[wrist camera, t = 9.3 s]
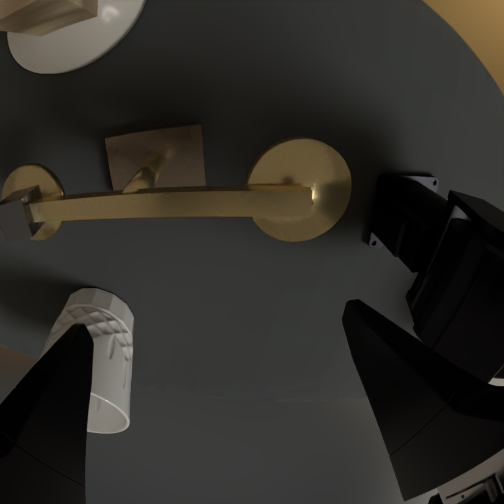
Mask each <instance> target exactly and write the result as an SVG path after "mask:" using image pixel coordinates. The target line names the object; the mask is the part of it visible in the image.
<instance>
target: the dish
mask: <svg viewBox="0 0 504 504" xmlns="http://www.w3.org/2000/svg"><path fill="white" fill-rule="evenodd" d="M146 1H147V0H98V12H97V17H94V18H91V19H88V20H85V21H81V22H78V23H76V24H73V25H70V26H67V27H64V28H62V29H59V30H57V31H54V32H52V33H49V34H47V35H44V36H42V37H40V36H34V35H28V34H21V33H14V32H7V38H8V45H9V48H10V51H11V53H12V55H13V57H14V59H15V60H16V61H17V63H19V64H20V65H21V66H22V67H24V68H25V69H27V70H29V71H32V72H35V73H41V74H59V73H67V72H71V71H75V70H77V69H80V68H83V67H85V66H87V65H89V64H91V63H93V62H95V61H96V60H98V59H100V58H101V57H103V56H104V55H105V54H107V53H108V52H110V51H111V50H112V49H113V48H114V47H115V46H116V45H118V44H119V43H120V42H121V41H122V39H123V38H124V37H125V36H126V35H127V34H128V33H129V31H130V30H131V29H132V28H133V26H134V25H135V23H136V22H137V20H138V19H139V17H140V15H141V13H142V11H143V9H144V6H145V4H146Z"/></svg>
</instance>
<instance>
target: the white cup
mask: <svg viewBox="0 0 504 504" xmlns="http://www.w3.org/2000/svg"><path fill="white" fill-rule="evenodd" d="M75 323H83V324H85V325H86V327H87V329H88V331H89V333H90V335H91V336H92V338H93V341H94V352H93V371H92V387H91V395H90V404H89V413H88V424H87V431H89V432H95V433H116V432H121V431H123V430H125V429H126V428H128V426H129V423H130V421H129V419H130V390H131V374H132V352H133V344H132V339H133V330H134V316H133V315H132V313H131V311H130V309H129V308H128V306H127V304H126V303H124V302H123V301H122V300H121V299H119V298H118V297H117V296H116V295H114V294H112V293H109V292H107V291H104V290H101V289H98V288H82V289H80V290H78V291H76V292H74V293H72V294H71V295H70V297H69V299H68V301H67V303H66V305H65V307H64V309H63V311H62V312H61V314H60V316H59V317H58V318H57V320H56V322H55V324H54V326H53V327H52V329H51V331H50V333H49V335H48V338H47V340H46V342H45V344H44V347H43V349H42V351H41V354H40V356H39V358H38V361H39V359H40V358H41V357H42V356H43V355H44V354H45V353H46V352H47V351H48V350H49V349H50V348H51V347H52V345H53V344H54V343H55V342H56V341H57V340H58V339H59V338H60V337H61V336H62V335H63V334H64V333H65V332H66V331H67V330H68V329H69V328H70V327H71V326H72V325H73V324H75ZM38 361H37V362H38Z"/></svg>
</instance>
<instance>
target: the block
mask: <svg viewBox="0 0 504 504" xmlns="http://www.w3.org/2000/svg"><path fill="white" fill-rule="evenodd" d="M97 12H98V0H0V31H6V32H14V33H21V34H28V35H34V36H40V37H42V36H44V35H47V34H49V33H52V32H54V31H57V30H59V29H62V28H64V27H67V26H70V25H73V24H76V23H78V22H81V21H85V20H88V19H91V18H94V17H97Z"/></svg>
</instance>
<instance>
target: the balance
mask: <svg viewBox="0 0 504 504" xmlns="http://www.w3.org/2000/svg"><path fill="white" fill-rule="evenodd" d="M105 144H106V150H107V157H108V163H109V169H110V174H111V180H112V185H113V190H114V191H102V192H91V193H81V194H72V195H65V191H64V188H63V186H62V184H61V182H60V180H59V179H58V177H57V176H56V175H55V174H54V173H53V172H52V171H51V170H50V169H49V168H47V167H46V166H44V165H41V164H38V163H28V164H25V165H22V166H21V167H19V168H17V169H16V170H14V171H13V172H12V173H11V174H10V175H9V176H8V178H7V180H6V182H5V184H4V187H3V193H2V201H1V202H0V226H1V229H2V231H3V234H4V237H5V239H6V242H9V241H15V240H20V239H26V238H28V239H31V240H44V239H47V238H49V237H51V236H52V235H53V234H54V233H55V232H56V231H57V230H58V228H59V227H60V226H61V224H62V223H63V221H65V220H84V219H108V218H139V217H195V216H250V217H252V218H253V220H254V221H255V223H256V224H257V225H258V227H259V228H260V229H262V230H263V231H264V232H265V233H267V234H268V235H270V236H272V237H274V238H276V239H279V240H283V241H291V242H297V241H305V240H309V239H312V238H315V237H317V236H319V235H321V234H323V233H325V232H326V231H328V230H329V229H330V228H331V227H333V226H334V225H335V224H336V223H337V222H338V220H339V219H340V218H341V217H342V215H343V213H344V212H345V210H346V208H347V206H348V203H349V200H350V196H351V189H352V182H351V175H350V171H349V168H348V166H347V164H346V162H345V160H344V159H343V158H342V156H341V155H340V154H339V153H338V152H337V151H336V150H334V149H333V148H332V147H330V146H328V145H327V144H325V143H323V142H321V141H319V140H316V139H314V138H309V137H290V138H285V139H282V140H280V141H277V142H275V143H273V144H272V145H270V146H269V147H267V148H266V149H265V150H264V151H262V152H261V153H260V154H259V156H258V157H257V158H256V159H255V161H254V162H253V164H252V165H251V167H250V169H249V171H248V174H247V178H246V183H245V185H223V186H206V179H205V166H204V151H203V136H202V123H192V124H183V125H174V126H166V127H159V128H152V129H145V130H139V131H133V132H127V133H121V134H116V135H111V136H108V137H107V138H105Z"/></svg>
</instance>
